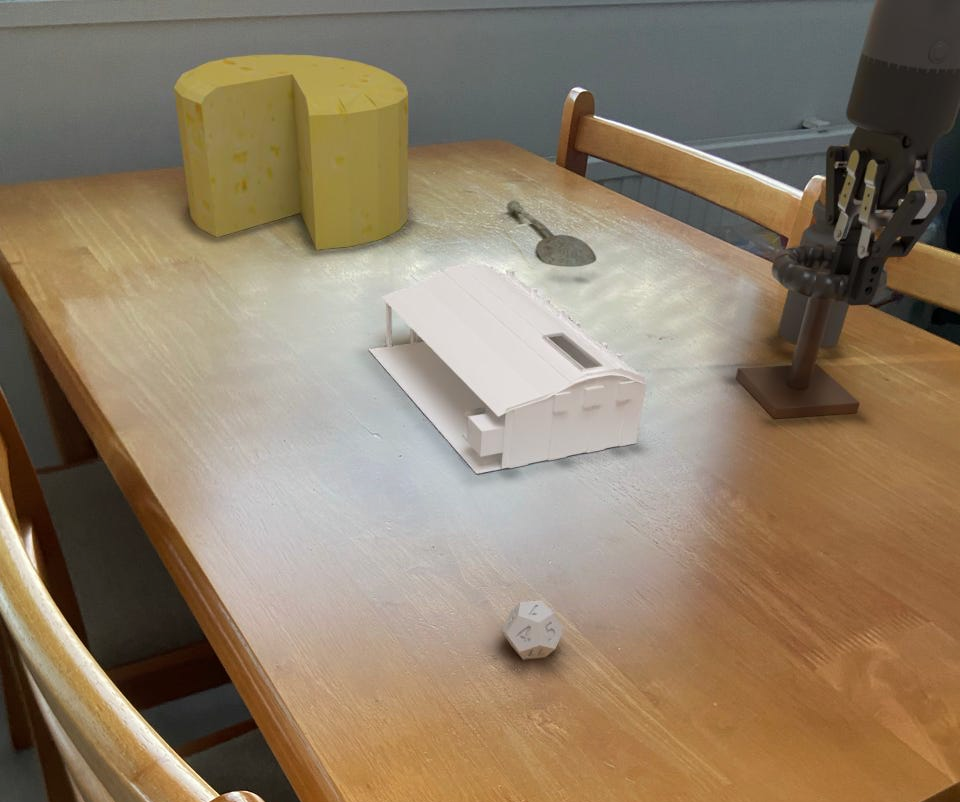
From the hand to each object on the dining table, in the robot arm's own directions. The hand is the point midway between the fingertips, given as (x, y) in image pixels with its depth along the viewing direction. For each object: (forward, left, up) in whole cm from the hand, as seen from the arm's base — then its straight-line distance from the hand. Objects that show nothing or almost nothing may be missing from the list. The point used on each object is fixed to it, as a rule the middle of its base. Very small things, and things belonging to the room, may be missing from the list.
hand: (847, 295), depth 81 cm
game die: (+33, +26, -11) cm, 44 cm away
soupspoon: (+12, -45, -11) cm, 47 cm away
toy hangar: (+27, -8, -11) cm, 30 cm away
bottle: (-6, -14, -11) cm, 18 cm away
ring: (0, -4, +1) cm, 4 cm away
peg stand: (0, -4, -10) cm, 11 cm away
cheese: (+39, -58, -11) cm, 70 cm away
